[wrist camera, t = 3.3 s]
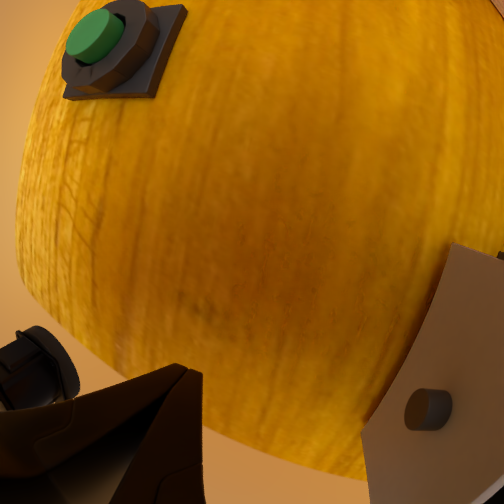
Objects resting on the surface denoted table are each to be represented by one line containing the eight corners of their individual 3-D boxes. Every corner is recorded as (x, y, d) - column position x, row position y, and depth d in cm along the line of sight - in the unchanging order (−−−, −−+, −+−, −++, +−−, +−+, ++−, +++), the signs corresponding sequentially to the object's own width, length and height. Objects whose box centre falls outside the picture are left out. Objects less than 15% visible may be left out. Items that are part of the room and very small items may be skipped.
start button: (112, 61, 10) (93, 50, 8) (75, 67, 10) (57, 59, 9) (132, 15, 9) (117, 3, 8) (94, 24, 10) (79, 15, 8)
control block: (154, 98, 12) (128, 82, 10) (70, 100, 13) (44, 92, 10) (188, 11, 11) (171, -12, 8) (101, 25, 12) (80, 11, 9)
